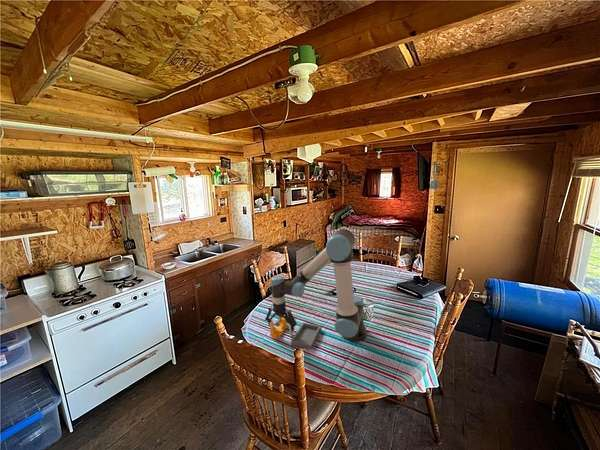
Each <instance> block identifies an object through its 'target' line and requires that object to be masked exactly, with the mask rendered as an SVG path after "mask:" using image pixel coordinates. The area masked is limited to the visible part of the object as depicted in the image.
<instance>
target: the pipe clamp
mask: <svg viewBox="0 0 600 450" xmlns="http://www.w3.org/2000/svg"><path fill="white" fill-rule="evenodd" d="M287 323H288V322H286V320H285V318H281V323H280V325H279V326H277V327H276V326H274V325H273V326H271V327H270V326H269V332H270V337H271V338H273V339H275V340H277V339H278V338H279V337H281V336H282V335H284V331H285V329H287V327H288V324H287Z"/></svg>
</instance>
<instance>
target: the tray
mask: <svg viewBox="0 0 600 450" xmlns="http://www.w3.org/2000/svg"><path fill="white" fill-rule="evenodd" d="M321 332H322V325H318V324H313V323H308V322H303V321H302V323H301V324H300V326H299V328H298V329H297V330H296V332H295V333H294V334H293V336H292V338H291V340H290V344H291V345H290V346H292V347H296V348H300V349H304V348H306V349H305V350H309V351H312V350H313V348H314V346H315V343H316V341H317V340H318V338H319V336H320V333H321Z"/></svg>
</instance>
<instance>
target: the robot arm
mask: <svg viewBox="0 0 600 450" xmlns="http://www.w3.org/2000/svg"><path fill="white" fill-rule="evenodd" d="M355 243H356V237H355V235H354V233H353V232H352V231H351V230H349V229H345V228H342V229H339V230H337V231H336V232H335V233H334V234H333V235H331V236H330V237H329V239H328V240H327V242H326V244H325V248H323V250H322V251H321V252H319V253H318V255H316V256H315V257H314V258H313V259H312V260H311V261H310V262H309V263H308V264H307V265H306V266H305V267H303V269H302V270H301V271H299V272H298V273H297V275H296V276H294V277H293V278H292V280H285V279H284V276H283V275H279V274H278V275H273V276H271V278H270V288H271V298H272V299H271V300H272V305H270V306H269V307H268V312H267V314H266V316H265V319H264V320H265V322H266V321H267V322H268V327H269V328H270V327H271V326H274V320H273V319H274V317H275V316H277V317H279V316H280V317H283V318H285V320H286V321H287V323H288V324H287V325H289V337H292V338H293V336H294V331H295V327H296V326H297V325H298V323H297V320H296V319H295V317H294V315H293V314H292V310H291V309H287V306H286V304H287V303H286V295H288V296H293V297H303V295H304V293H305V289H306V288H305V286H306V284H307V283H309V282H310V281H311V280H312V279H313V278H314V277H315V276H317V274H319V272H321V270H323V269H325V267H326V266H327V265H328V264H329V263H331V264H332V265H333V272H334V282H335V293H336V300H337V306H336V307H335V317H336V318H335V319H336V320H335V321H334V329H335V331H336V332H337V333H338V334H339V335H340V336H341V337H342V338H343V339H344V340H346V341H349V342H354V343H358V342H362V341H364V340H365V339H366V338H367V335H368V332H367V331H368V330H367V328H366V325H365V323H364V299H363V298H362V297H360V296H358V295H354V284H353V283H354V282H353V274H352V273H353V272H352V262H353V261H354V252H353V249H354V246H355ZM272 311H273V314H272V315H271V313H272ZM270 316H271V317H270Z"/></svg>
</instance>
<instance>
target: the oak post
mask: <svg viewBox="0 0 600 450" xmlns="http://www.w3.org/2000/svg"><path fill="white" fill-rule="evenodd" d="M278 317H279V318H278V319H277V320H276V321H275V325H280V323H281V318H283V317H280V316H278ZM286 322H287V321H286ZM287 323H288V322H287Z"/></svg>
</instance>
